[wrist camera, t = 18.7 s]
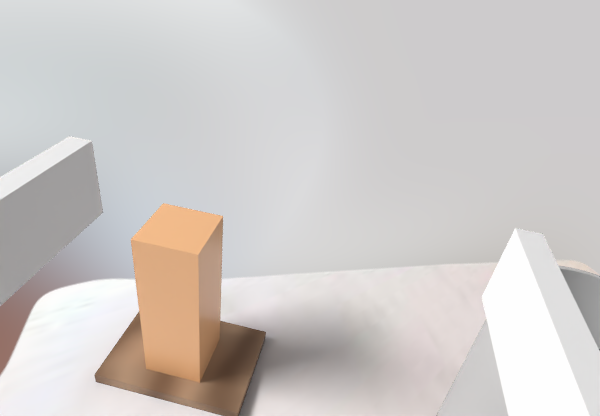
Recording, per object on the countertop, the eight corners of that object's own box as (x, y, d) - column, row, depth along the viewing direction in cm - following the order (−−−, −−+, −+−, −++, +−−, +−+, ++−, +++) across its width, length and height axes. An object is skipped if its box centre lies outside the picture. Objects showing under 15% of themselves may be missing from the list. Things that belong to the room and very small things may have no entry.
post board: (265, 338, 54) (270, 291, 50) (237, 419, 45) (240, 370, 41) (146, 309, 56) (140, 261, 51) (96, 381, 47) (84, 330, 42)
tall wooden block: (171, 326, 52) (163, 203, 43) (219, 338, 52) (222, 216, 42) (146, 368, 47) (130, 239, 38) (199, 382, 47) (198, 254, 37)
